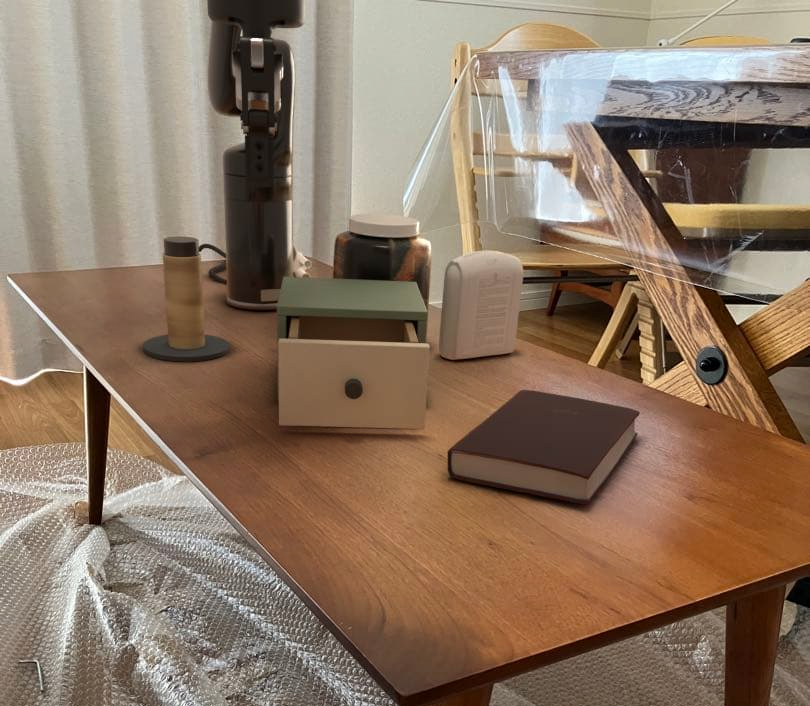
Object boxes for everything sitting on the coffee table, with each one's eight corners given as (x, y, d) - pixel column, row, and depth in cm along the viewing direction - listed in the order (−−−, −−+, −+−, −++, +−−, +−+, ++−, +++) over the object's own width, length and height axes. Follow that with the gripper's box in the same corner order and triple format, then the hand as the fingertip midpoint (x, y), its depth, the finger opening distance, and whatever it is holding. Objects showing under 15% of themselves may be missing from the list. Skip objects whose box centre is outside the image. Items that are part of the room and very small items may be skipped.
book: (443, 478, 78) (446, 442, 77) (516, 413, 94) (520, 383, 93) (585, 512, 74) (591, 475, 72) (637, 438, 90) (643, 407, 88)
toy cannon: (278, 276, 155) (300, 253, 154) (297, 295, 143) (321, 270, 143) (244, 241, 150) (267, 218, 150) (261, 258, 139) (286, 233, 138)
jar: (332, 356, 109) (335, 224, 102) (330, 330, 119) (332, 209, 112) (430, 359, 110) (439, 229, 103) (420, 333, 120) (427, 213, 113)
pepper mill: (171, 339, 109) (164, 235, 104) (207, 340, 110) (202, 236, 104) (166, 349, 106) (158, 241, 100) (202, 350, 106) (197, 243, 100)
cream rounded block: (498, 345, 117) (508, 245, 111) (519, 354, 114) (531, 252, 108) (432, 354, 112) (439, 250, 106) (453, 363, 109) (461, 256, 103)
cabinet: (421, 406, 95) (427, 311, 90) (277, 402, 93) (276, 306, 89) (411, 366, 107) (416, 281, 102) (284, 362, 105) (283, 276, 101)
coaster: (151, 336, 112) (150, 331, 112) (233, 339, 113) (233, 334, 113) (135, 360, 103) (135, 355, 103) (225, 363, 104) (225, 358, 104)
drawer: (425, 434, 85) (431, 350, 81) (278, 430, 84) (277, 345, 80) (413, 387, 97) (418, 312, 93) (285, 383, 96) (284, 307, 92)
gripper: (309, -55, 64) (308, 192, 71) (301, -33, 76) (302, 175, 83) (199, -63, 63) (210, 189, 70) (210, -39, 75) (218, 172, 82)
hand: (260, 181), depth 77 cm, fingers open, 8 cm apart
